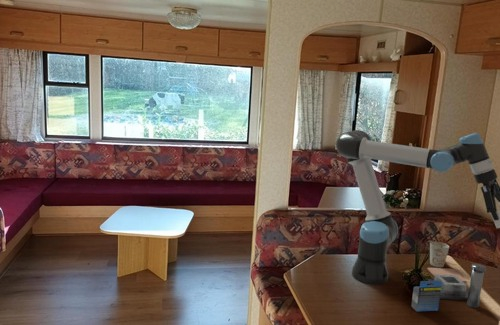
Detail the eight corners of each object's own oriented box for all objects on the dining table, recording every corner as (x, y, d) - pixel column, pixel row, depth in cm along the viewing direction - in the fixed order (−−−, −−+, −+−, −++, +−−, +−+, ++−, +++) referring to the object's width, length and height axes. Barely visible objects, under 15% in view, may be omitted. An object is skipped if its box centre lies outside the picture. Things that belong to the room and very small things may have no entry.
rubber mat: (438, 280, 178) (439, 279, 178) (427, 268, 190) (427, 267, 190) (466, 282, 178) (466, 280, 178) (453, 270, 190) (453, 268, 190)
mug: (425, 265, 194) (428, 245, 192) (431, 256, 204) (433, 237, 202) (444, 270, 189) (447, 249, 187) (449, 261, 199) (452, 242, 198)
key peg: (469, 308, 156) (475, 268, 153) (463, 301, 161) (469, 263, 158) (482, 309, 156) (488, 269, 153) (475, 302, 161) (481, 263, 158)
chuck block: (439, 298, 162) (441, 287, 161) (424, 282, 176) (426, 271, 175) (474, 300, 162) (476, 288, 161) (457, 283, 176) (458, 272, 175)
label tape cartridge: (432, 305, 157) (436, 275, 154) (438, 311, 153) (442, 280, 151) (410, 306, 155) (414, 276, 153) (416, 312, 151) (420, 281, 149)
